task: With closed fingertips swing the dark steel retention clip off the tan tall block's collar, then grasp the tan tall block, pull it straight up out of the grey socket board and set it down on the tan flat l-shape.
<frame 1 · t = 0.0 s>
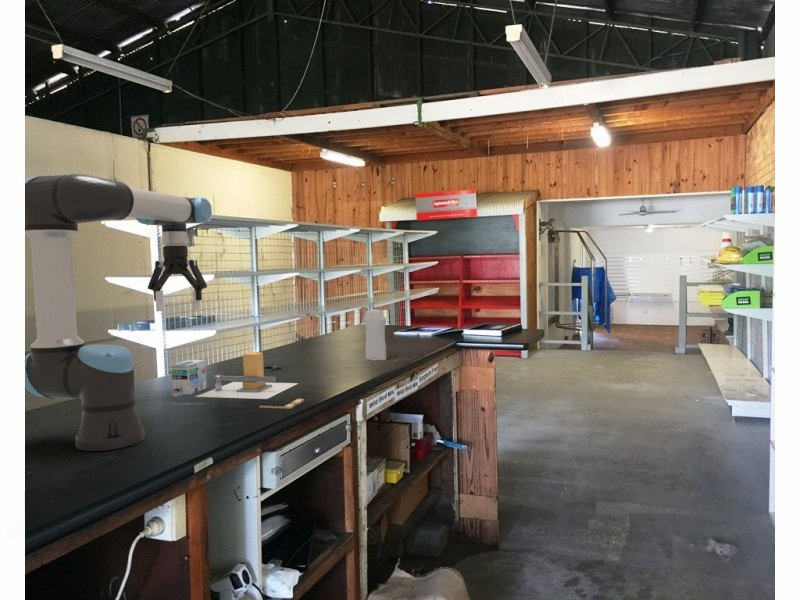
hand: (178, 311, 195), 28 cm above the counter, fingers open, 13 cm apart
tan flat l-shape: (282, 404, 182), on the counter
clip: (243, 378, 197), point 5 cm above the counter, hinge at 0.0°
socket board: (249, 392, 200), on the counter
tan tall block: (254, 389, 200), point 1 cm above the counter, touching socket board
tall pale column: (376, 360, 262), on the counter
light bulb box: (190, 394, 200), on the counter
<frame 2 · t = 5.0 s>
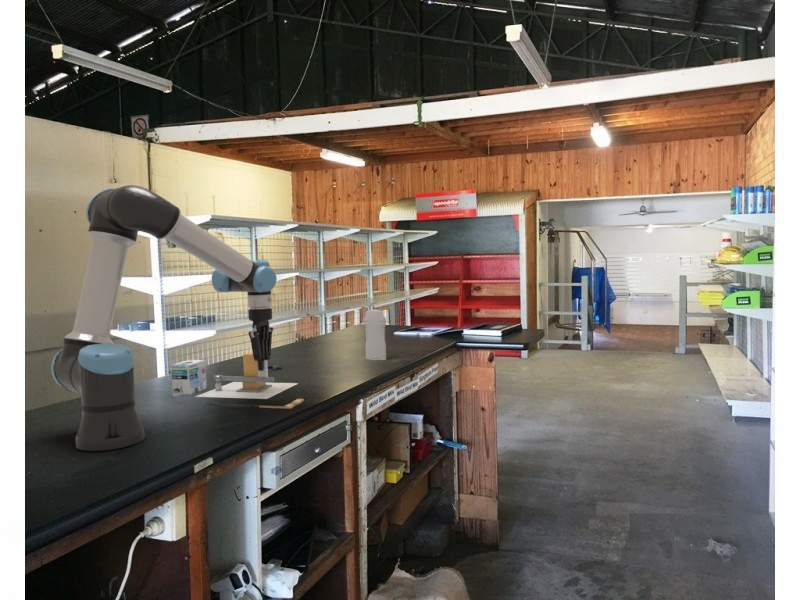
hand: (263, 379, 196), 5 cm above the counter, fingers closed
clip: (243, 378, 197), point 5 cm above the counter, hinge at 2.4°, touching gripper
everything else where it was.
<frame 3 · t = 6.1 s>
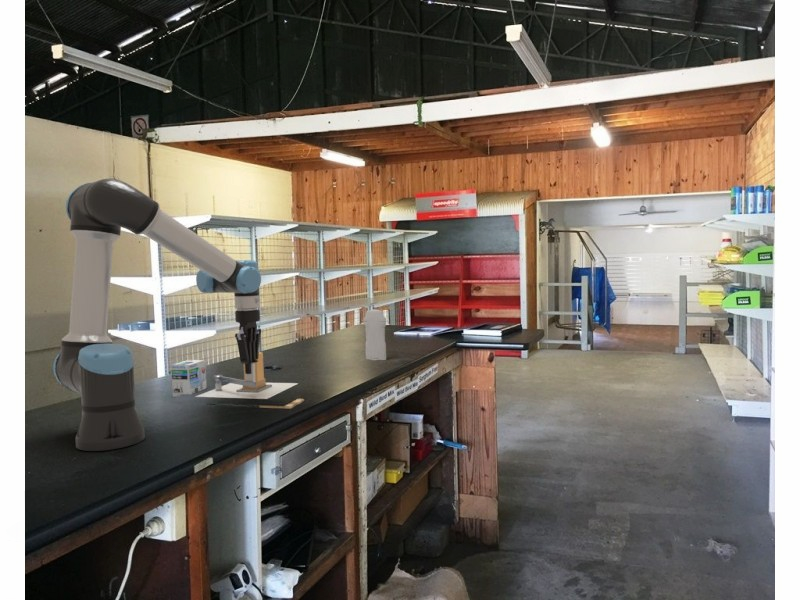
hand: (250, 383, 191), 5 cm above the counter, fingers closed
clip: (234, 381, 193), point 5 cm above the counter, hinge at 26.7°, touching gripper
everything else where it was.
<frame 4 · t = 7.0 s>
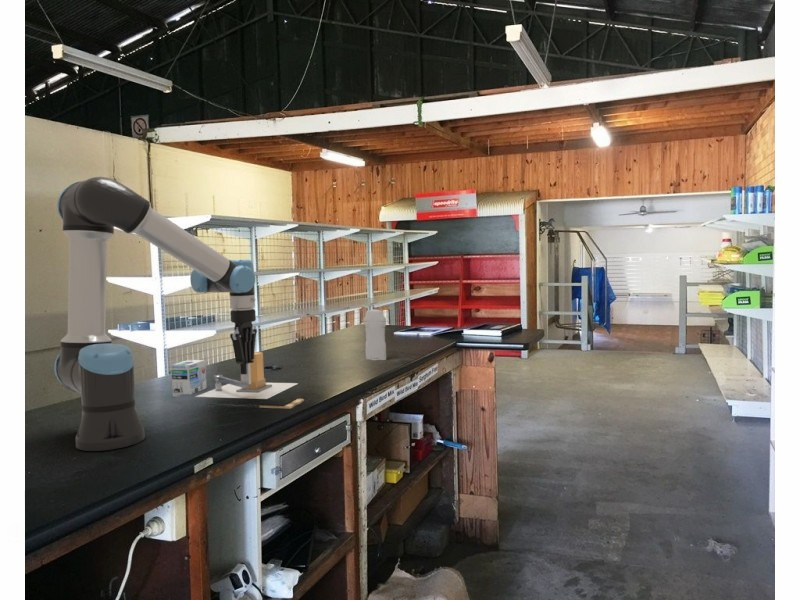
hand: (246, 383, 189), 5 cm above the counter, fingers closed
clip: (231, 381, 193), point 5 cm above the counter, hinge at 34.2°, touching gripper
everything else where it was.
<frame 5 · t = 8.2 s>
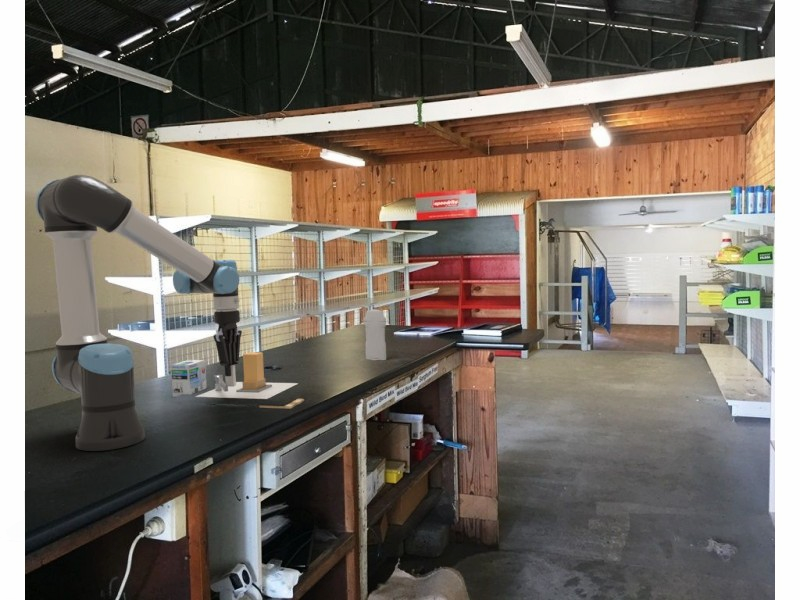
hand: (231, 385, 186), 5 cm above the counter, fingers closed
clip: (221, 382, 191), point 5 cm above the counter, hinge at 52.6°, touching gripper
everything else where it was.
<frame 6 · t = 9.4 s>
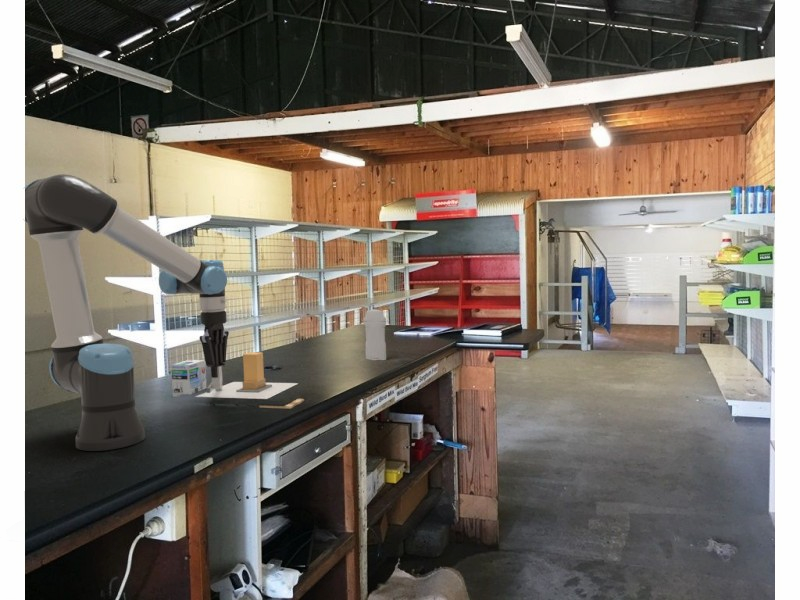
hand: (217, 387, 184), 5 cm above the counter, fingers closed
clip: (213, 383, 190), point 5 cm above the counter, hinge at 67.0°, touching gripper
everything else where it was.
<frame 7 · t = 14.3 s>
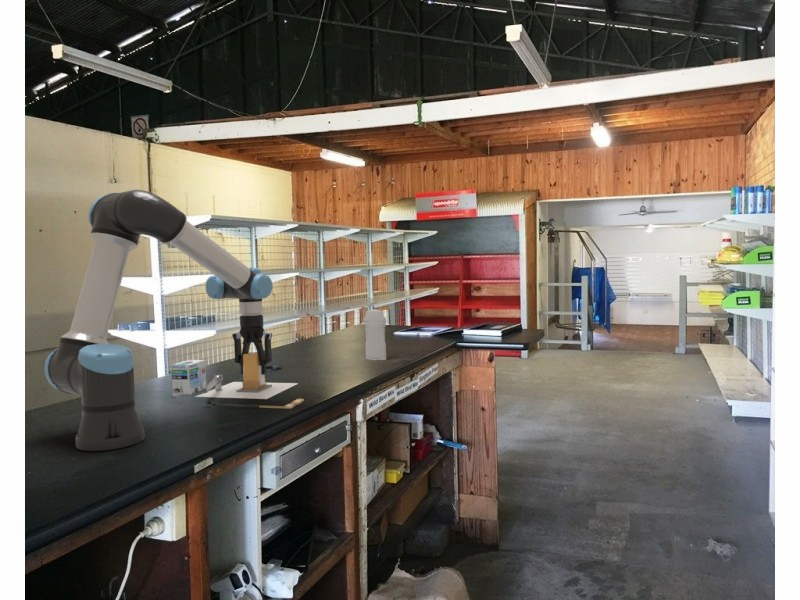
hand: (254, 384, 200), 3 cm above the counter, fingers closed on tan tall block, 5 cm apart
clip: (212, 383, 190), point 5 cm above the counter, hinge at 69.7°
tan tall block: (254, 389, 200), point 1 cm above the counter, touching gripper, socket board
everything else where it was.
when the fingers open (4 cm above the counter, at t = 20.1 s): tan tall block drops 2 cm, resting on tan flat l-shape.
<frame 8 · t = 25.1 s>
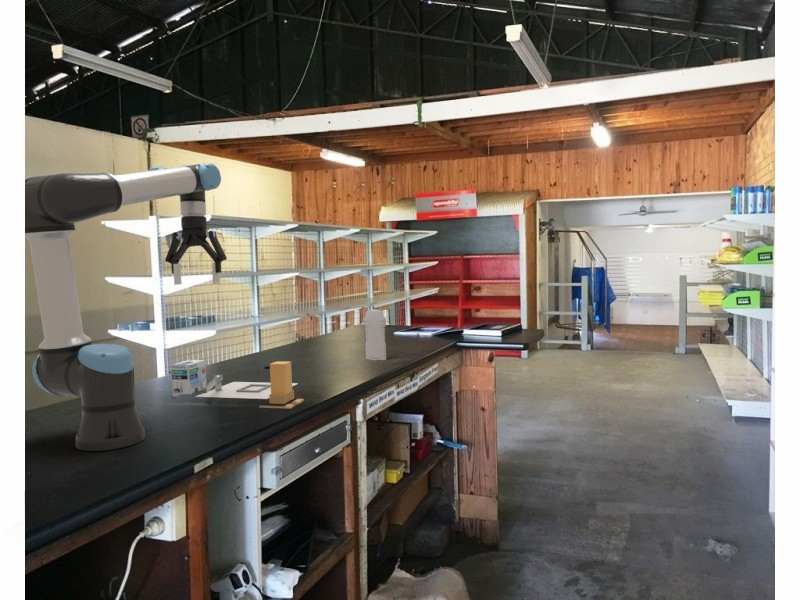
hand: (196, 284, 189), 37 cm above the counter, fingers open, 13 cm apart
tan tall block: (282, 402, 182), point 1 cm above the counter, touching tan flat l-shape
everything else where it was.
at the end: clip at +70° (first picture: +0°); tan tall block inside the target area (0.0 cm from its centre), point 0.6 cm above the counter; tan tall block tilted 0° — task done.
